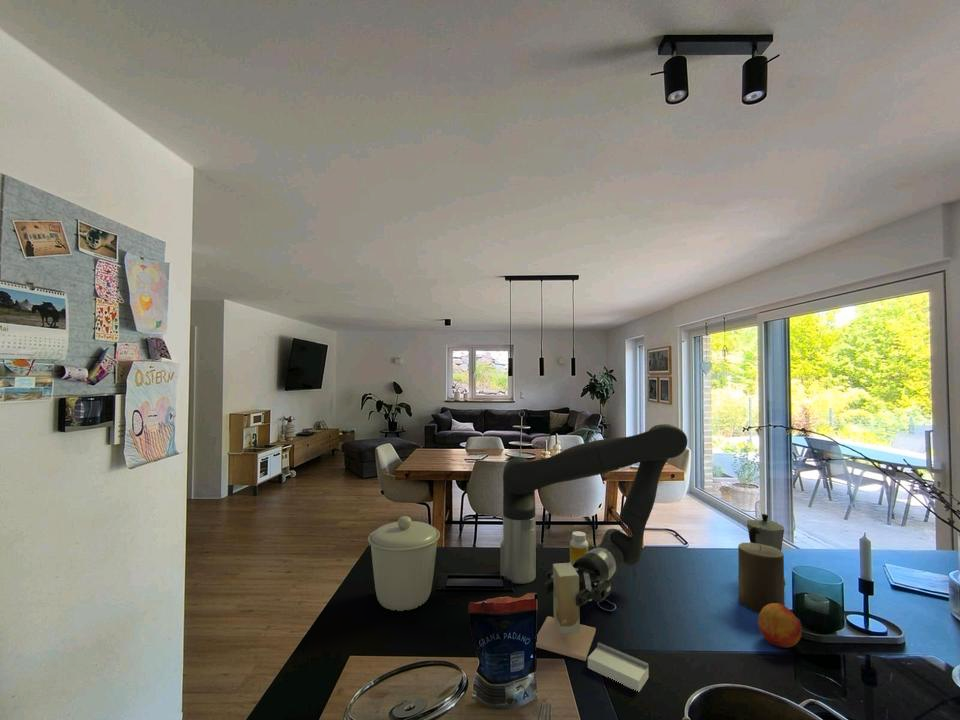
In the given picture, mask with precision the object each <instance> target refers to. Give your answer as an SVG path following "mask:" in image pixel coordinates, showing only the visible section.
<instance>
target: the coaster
mask: <svg viewBox="0 0 960 720" xmlns="http://www.w3.org/2000/svg"><path fill="white" fill-rule="evenodd" d="M595 635H596V627H593V626H588V625H585V624H582V623H580V632H577V633H562V634H561V633H560V631H559V629H558V627H557V625H556V622H555V620H554V616H549V615H547V617H546V618H545V620H544V622H543V624H542V625H541V627H540V629H539V630H538V633H537V634H536V636H537V642H536V647H535V648H537V649H542V650H546V651H549V652H552V653H556V654H559V655H563V656H567V657H570V658H573V659H577V660H580V661H583V662H586V660H587V659H588V654H589V652H590V649H591V646H592V643H593V640H594V637H595Z"/></svg>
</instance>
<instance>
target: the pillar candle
mask: <svg viewBox="0 0 960 720" xmlns="http://www.w3.org/2000/svg"><path fill="white" fill-rule="evenodd" d="M737 546H738V547H737V548H738V549H737V550H738V553H737V554H738V562H737V563H738V577H737V578H738V588H737V589H738V591H737V592H738V594H737V595H738V600H739V602H740V603H741V604H742V606H744V607H745V608H747V609H749V610H751V611H753V612H757V613H759V614H760V612H761V610H762V609H763V607H764V606H766V605H768V604H770V603H779V604H782V605H784V606H786V605H785V604H786V603H785V601H786V600H785V584H784V579H785V561H784V559H785V558H784V553H783V551H782V550H781V551H780V550H778V549H777V548H774V547H771V546H767V545H763V544H758V543H750V542H741V543H739V544H738V545H737Z"/></svg>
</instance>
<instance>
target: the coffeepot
mask: <svg viewBox="0 0 960 720" xmlns="http://www.w3.org/2000/svg"><path fill="white" fill-rule="evenodd" d="M761 518H762V519H748V520H746V526H747V531H748V538H749V543H758V544H763V545H767V546H771V547H774V548H777V549H778V550H780V551H781V552H782V547H783V541H784V534H785V528H784V525H782V524H779V523H778V521H773V520H771V519H770V520H768V518H769V515H768V514H767V513H762V514H761ZM784 585H786V579H785V578H784Z"/></svg>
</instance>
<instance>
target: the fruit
mask: <svg viewBox="0 0 960 720" xmlns="http://www.w3.org/2000/svg"><path fill="white" fill-rule="evenodd" d="M757 625H758V628H759V631H760V633H761V635H762V636H763V637H764V639H765V640H766V641H767V643H770V644H771V645H773V646H775V647H779V648H786V649H787V648H791V647H794V646H795V645H797V644H798V643H799V641H801V637H802V633H803V632H802V631H803V630H802V629H803V628H802V623H801V621H800V619H799V618H798V617H797V616H795V614H794V613H793V611H791V610H790V609H789V608H788V607H787V606H786V605H785V606H784V605H782V604H779V603H770V604H768V605H766V606H764V607H763V609H762V610H761V612H760V613H759V614H758V617H757Z"/></svg>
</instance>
